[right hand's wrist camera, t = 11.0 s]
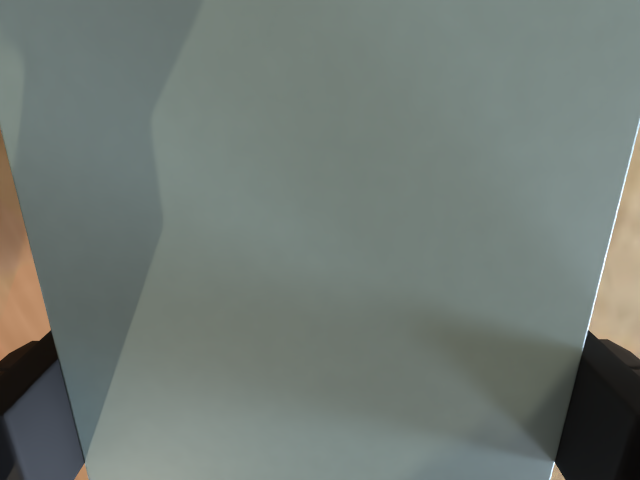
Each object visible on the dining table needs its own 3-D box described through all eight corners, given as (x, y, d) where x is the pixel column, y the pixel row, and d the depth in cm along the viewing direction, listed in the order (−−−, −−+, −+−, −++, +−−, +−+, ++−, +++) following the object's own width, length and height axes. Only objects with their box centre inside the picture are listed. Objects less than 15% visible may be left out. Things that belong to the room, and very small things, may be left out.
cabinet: (164, -211, 14) (-324, -1152, 3) (475, -211, 14) (961, -1148, 3) (214, 304, 20) (101, 534, 10) (425, 303, 20) (537, 533, 10)
